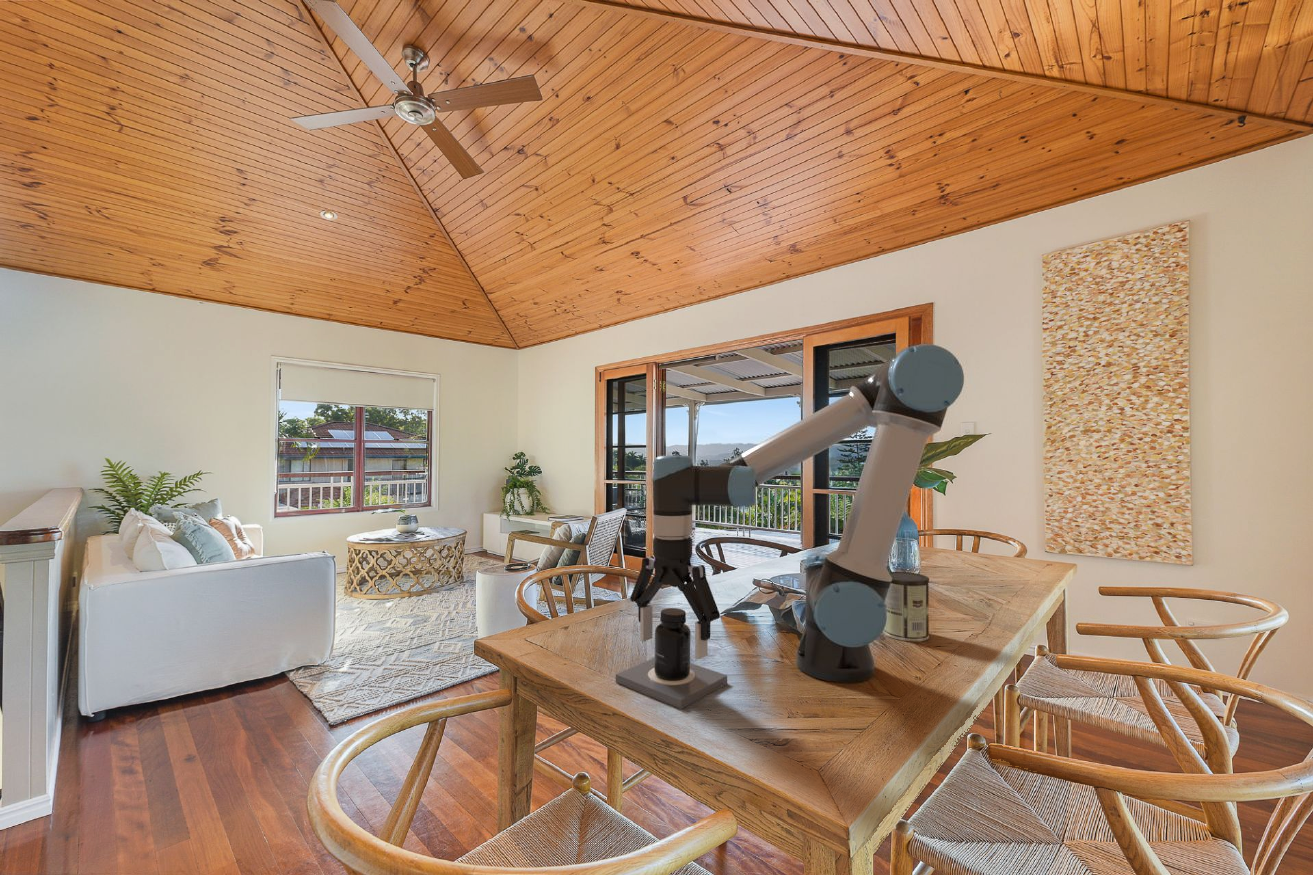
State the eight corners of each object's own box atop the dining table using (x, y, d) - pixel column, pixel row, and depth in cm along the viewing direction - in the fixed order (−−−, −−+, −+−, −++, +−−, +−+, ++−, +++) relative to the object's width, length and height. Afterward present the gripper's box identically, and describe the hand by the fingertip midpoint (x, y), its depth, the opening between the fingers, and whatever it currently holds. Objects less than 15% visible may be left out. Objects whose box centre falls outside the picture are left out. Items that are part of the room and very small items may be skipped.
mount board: (727, 683, 106) (727, 674, 106) (680, 708, 96) (680, 699, 96) (663, 660, 117) (663, 653, 117) (615, 682, 107) (615, 673, 107)
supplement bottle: (648, 678, 105) (649, 614, 105) (661, 665, 111) (662, 604, 111) (683, 684, 102) (684, 618, 102) (694, 670, 108) (695, 608, 109)
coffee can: (898, 624, 142) (898, 569, 142) (937, 636, 133) (938, 577, 134) (873, 632, 136) (873, 574, 136) (913, 645, 128) (913, 583, 128)
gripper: (738, 541, 101) (739, 658, 101) (638, 527, 118) (638, 628, 118) (714, 546, 96) (714, 671, 96) (612, 531, 112) (613, 637, 112)
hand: (672, 647), depth 107 cm, fingers open, 13 cm apart
